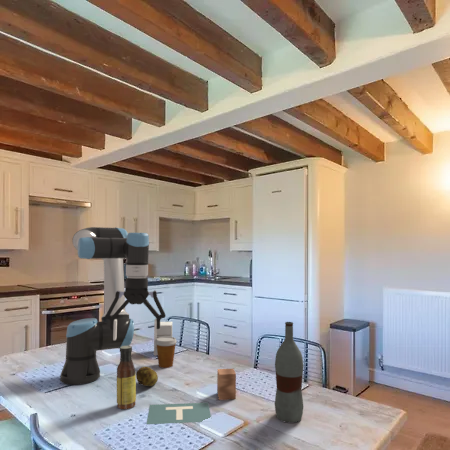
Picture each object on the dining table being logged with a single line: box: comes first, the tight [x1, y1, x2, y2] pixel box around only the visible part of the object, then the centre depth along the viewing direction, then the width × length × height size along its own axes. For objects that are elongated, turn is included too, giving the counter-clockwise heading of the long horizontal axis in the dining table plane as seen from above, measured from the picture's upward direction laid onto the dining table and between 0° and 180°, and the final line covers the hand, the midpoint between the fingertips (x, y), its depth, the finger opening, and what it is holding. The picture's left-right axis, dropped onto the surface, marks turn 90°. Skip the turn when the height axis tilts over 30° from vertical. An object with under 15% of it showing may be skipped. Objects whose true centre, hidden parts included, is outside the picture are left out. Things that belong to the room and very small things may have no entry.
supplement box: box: [153, 321, 173, 357], centre depth 190 cm, size 9×9×15 cm
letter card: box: [146, 402, 212, 425], centre depth 122 cm, size 20×14×1 cm
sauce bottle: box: [116, 345, 137, 410], centre depth 127 cm, size 7×6×20 cm
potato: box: [136, 366, 159, 387], centre depth 146 cm, size 8×13×8 cm, turn 155°
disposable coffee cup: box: [156, 336, 178, 369], centre depth 170 cm, size 10×10×12 cm
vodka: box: [274, 321, 304, 423], centre depth 121 cm, size 9×9×30 cm
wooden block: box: [216, 368, 237, 401], centre depth 136 cm, size 6×6×9 cm
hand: (135, 338), depth 129 cm, fingers open, 13 cm apart
